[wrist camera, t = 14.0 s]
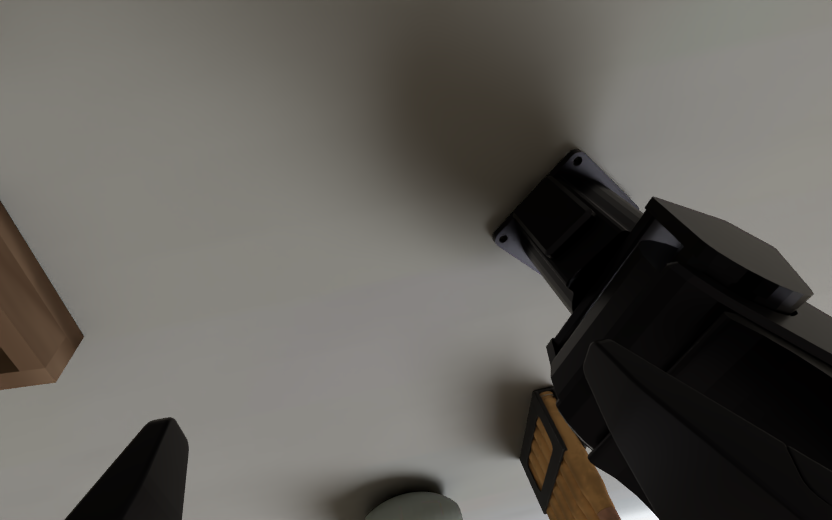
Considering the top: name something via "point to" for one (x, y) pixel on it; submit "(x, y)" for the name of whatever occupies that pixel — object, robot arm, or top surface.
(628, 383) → the robot arm
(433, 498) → the air freshener
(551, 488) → the ammunition clip
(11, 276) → the brown wooden tray
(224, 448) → the top surface
